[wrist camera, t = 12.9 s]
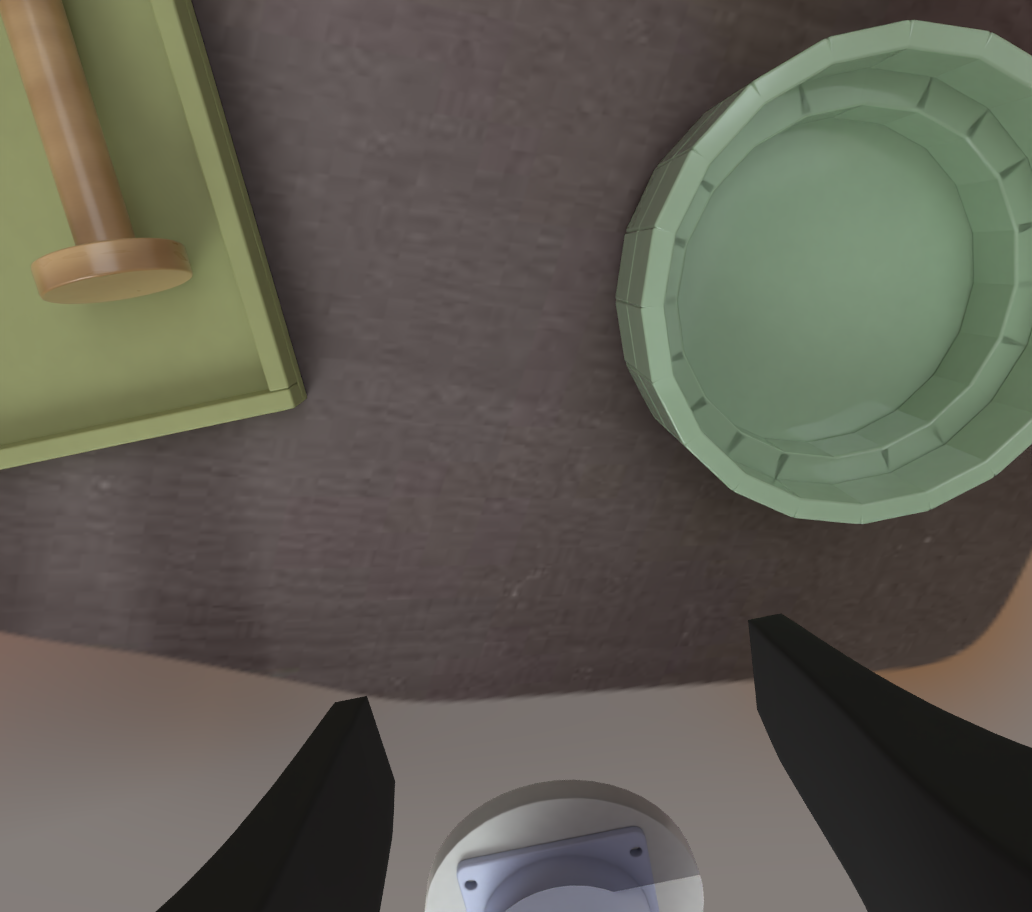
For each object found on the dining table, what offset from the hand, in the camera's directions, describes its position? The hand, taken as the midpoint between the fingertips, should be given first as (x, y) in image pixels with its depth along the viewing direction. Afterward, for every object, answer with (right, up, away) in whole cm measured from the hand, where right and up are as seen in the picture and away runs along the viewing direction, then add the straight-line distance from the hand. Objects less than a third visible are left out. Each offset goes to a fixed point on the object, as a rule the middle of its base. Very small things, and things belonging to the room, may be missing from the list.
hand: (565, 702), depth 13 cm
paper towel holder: (-11, +9, +5) cm, 15 cm away
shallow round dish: (+8, +10, +8) cm, 15 cm away
